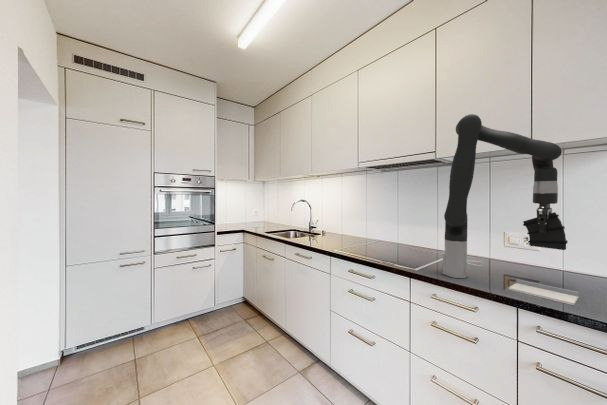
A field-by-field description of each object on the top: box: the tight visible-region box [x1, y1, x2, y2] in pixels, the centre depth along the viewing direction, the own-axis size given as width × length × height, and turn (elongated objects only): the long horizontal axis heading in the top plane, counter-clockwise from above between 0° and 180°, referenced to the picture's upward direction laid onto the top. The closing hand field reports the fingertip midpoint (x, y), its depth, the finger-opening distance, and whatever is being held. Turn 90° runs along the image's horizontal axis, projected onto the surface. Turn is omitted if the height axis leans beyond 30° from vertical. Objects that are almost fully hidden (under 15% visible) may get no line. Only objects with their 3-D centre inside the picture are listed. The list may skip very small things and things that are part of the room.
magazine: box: [522, 212, 568, 251], centre depth 104 cm, size 4×13×15 cm, turn 36°
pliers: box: [467, 259, 486, 267], centre depth 141 cm, size 10×2×15 cm
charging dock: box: [508, 278, 580, 306], centre depth 96 cm, size 18×10×2 cm, turn 35°
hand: (543, 232), depth 105 cm, fingers closed on magazine, 3 cm apart
